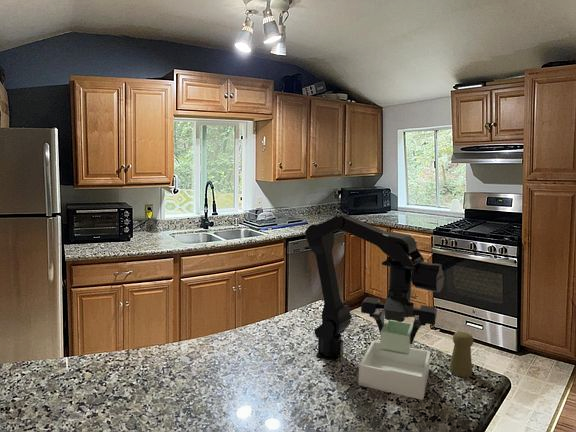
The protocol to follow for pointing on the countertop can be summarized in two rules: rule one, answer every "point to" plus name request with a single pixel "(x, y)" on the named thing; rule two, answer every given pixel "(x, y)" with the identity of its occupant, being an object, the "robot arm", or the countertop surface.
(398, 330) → the sage crate
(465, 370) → the olive pepper shaker
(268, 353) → the countertop surface
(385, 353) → the white open box
